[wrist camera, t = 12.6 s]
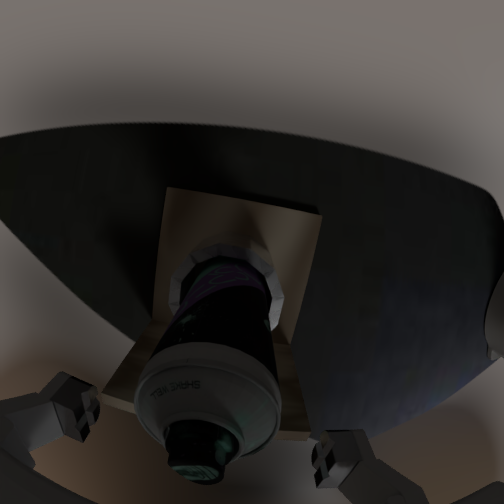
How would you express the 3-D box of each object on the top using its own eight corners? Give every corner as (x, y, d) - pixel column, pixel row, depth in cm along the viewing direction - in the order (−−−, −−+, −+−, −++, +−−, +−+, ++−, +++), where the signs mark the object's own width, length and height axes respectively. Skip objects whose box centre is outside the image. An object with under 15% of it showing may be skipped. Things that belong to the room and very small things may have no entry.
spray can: (273, 265, 25) (330, 451, 6) (245, 315, 26) (238, 518, 7) (218, 237, 25) (127, 378, 5) (192, 288, 26) (97, 469, 6)
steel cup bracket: (283, 241, 25) (293, 257, 19) (261, 341, 27) (263, 376, 21) (193, 224, 25) (176, 235, 19) (180, 325, 27) (164, 358, 21)
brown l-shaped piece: (319, 215, 26) (381, 237, 13) (286, 348, 28) (306, 440, 16) (170, 187, 25) (100, 185, 12) (154, 323, 28) (102, 402, 15)
